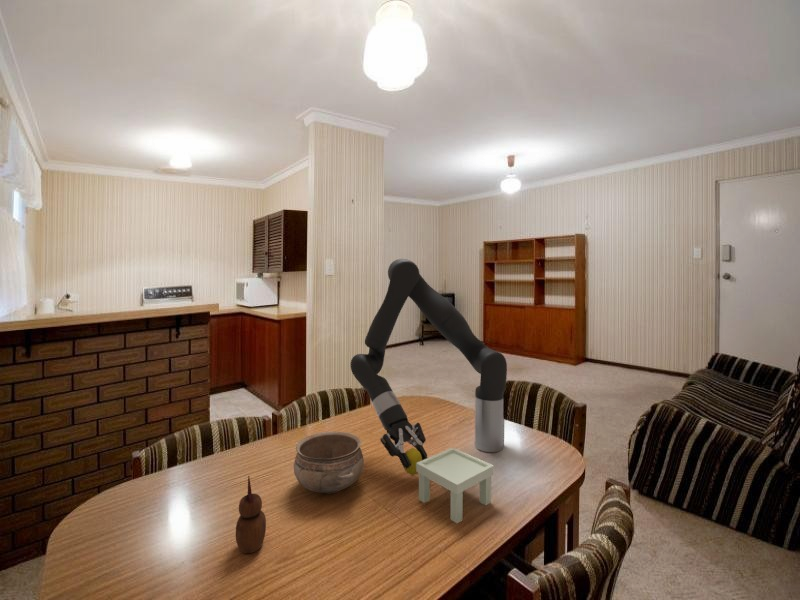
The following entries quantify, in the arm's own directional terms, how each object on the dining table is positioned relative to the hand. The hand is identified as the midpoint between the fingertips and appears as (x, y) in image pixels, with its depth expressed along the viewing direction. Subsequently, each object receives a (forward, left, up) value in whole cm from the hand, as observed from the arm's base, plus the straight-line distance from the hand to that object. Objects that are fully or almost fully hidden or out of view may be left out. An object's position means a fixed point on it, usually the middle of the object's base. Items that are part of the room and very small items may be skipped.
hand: (416, 463), depth 109 cm
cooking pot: (+19, -15, -6) cm, 25 cm away
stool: (-2, +12, -6) cm, 14 cm away
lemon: (0, -2, -5) cm, 5 cm away
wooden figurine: (+44, -5, -6) cm, 45 cm away
